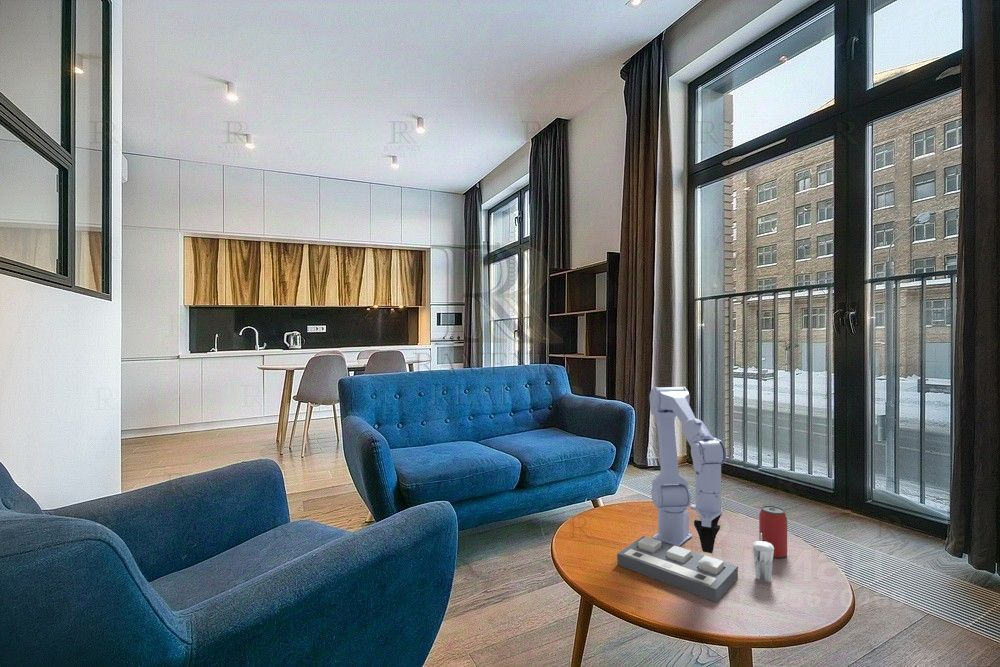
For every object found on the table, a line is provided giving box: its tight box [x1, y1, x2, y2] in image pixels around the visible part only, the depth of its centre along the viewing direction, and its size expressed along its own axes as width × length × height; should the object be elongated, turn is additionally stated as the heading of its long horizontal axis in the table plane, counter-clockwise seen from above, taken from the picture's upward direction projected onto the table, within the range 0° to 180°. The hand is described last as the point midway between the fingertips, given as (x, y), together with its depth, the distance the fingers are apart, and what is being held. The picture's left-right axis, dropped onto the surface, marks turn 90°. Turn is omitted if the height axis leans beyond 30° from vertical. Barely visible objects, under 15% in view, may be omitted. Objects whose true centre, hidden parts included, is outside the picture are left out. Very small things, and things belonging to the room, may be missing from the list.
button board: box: [616, 535, 739, 603], centre depth 122 cm, size 14×25×3 cm, turn 46°
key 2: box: [698, 554, 725, 575], centre depth 118 cm, size 4×4×3 cm
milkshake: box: [752, 533, 774, 584], centre depth 118 cm, size 4×5×10 cm
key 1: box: [638, 536, 662, 554], centre depth 129 cm, size 4×4×3 cm
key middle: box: [667, 545, 692, 564], centre depth 123 cm, size 4×4×3 cm
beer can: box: [758, 504, 788, 559], centre depth 131 cm, size 7×7×12 cm
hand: (708, 545), depth 118 cm, fingers open, 7 cm apart
